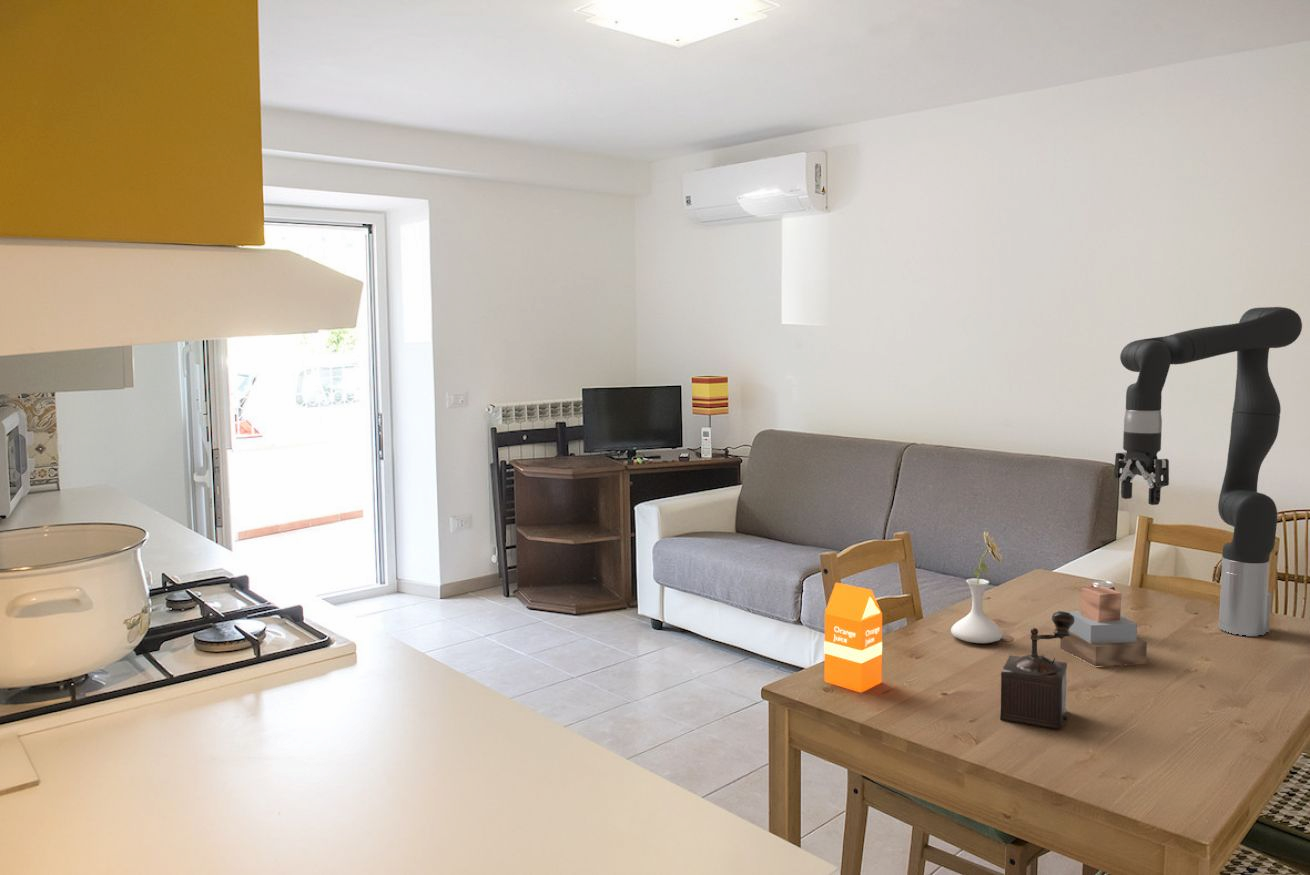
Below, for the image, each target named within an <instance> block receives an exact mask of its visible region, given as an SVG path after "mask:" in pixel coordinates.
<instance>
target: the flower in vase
mask: <svg viewBox="0 0 1310 875" xmlns="http://www.w3.org/2000/svg"><path fill="white" fill-rule="evenodd" d="M983 539H984V542H985V545H986V547H987V548H986V549H985V552H984V553H983V555H982V557H981V559H980V562H979V566H978V568H976V569H975V570H974V571H973V572H972V575H976V576H977V578H968V579H966V583H967V585H968V587H969V589H970V593H971V600H972V601H971V604H972V605H971V610H970V612H969V613H968V614H967V615H966V616H964V617H963V618H960V620H958V621H957V622H955V623H954V624H953V625H952V626H951V629H950V632H951V634H952V636H954V637H955V638H957V639H959V640H961V641H964V642H968V643H975V644H989V643H994V642H997V641H998V642H999V641H1000V640H1001V639H1002V638H1003V636H1004V633H1003V631H1002V629H1001V628H1000V627H999V626H998V625H997V624H996V623H995V622H994V621H992V620H991V619H990V618H989V617H988V616H987V615H986V614H985V613H984V610H983V600H984V599H983V598H984V593H985V590H986V588H987V587H988V585H989V584H990V581H989V580H987V579H984V578H980V575H981V574H983V573H984V574H987V573H988V570H989V568H988V566H987V564H986V562H983V560H984V558H985V556H986V555H987V553H988V552H989V553H990V555H991V556H992V558H993V559H994V561H995V562H997V563H998V564H1002V563H1003V561H1002V560H1003V556H1002V555H1001V554H1000V551H1001V550H1000V549H1001V548H1000V547H998V546H997V544H996V542H995V538H994V537H991V536H990V532H989V531H984V532H983Z"/></svg>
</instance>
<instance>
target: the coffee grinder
mask: <svg viewBox="0 0 1310 875" xmlns="http://www.w3.org/2000/svg"><path fill="white" fill-rule="evenodd" d="M1068 612H1069V611H1062V610H1059V611H1055V612H1053V614H1052V616H1051V621H1052V622H1053V624H1054V626H1055V629H1054V632H1053V634H1038V633H1039V630H1038V628H1036V627H1031V629H1030V640H1031V653H1030V654H1026V655H1023V656H1019V655H1008V658H1007V660H1006V662H1005V663H1004V665H1003V667H1002V669H1001V671H1000V672H1001V673H1000V681H1001V682H1000V716H999V719H1000V721H1004V722H1007V723H1011V724H1012V723H1013V724H1018V725H1025V726H1029V727H1030V726H1031V727H1035V728H1040V729H1047V730H1052V731H1061V730H1062V728H1063V726H1064V724H1065V722H1066V721H1067V720H1068V719H1069V713H1068V712H1067V707H1066V705H1067V700H1066V699H1067V670H1068V669H1067V668H1068V667H1067V666H1068V664H1067V662H1065V661H1058V660H1056V657H1054V659H1050V658H1048V657H1046V656H1045V655H1043V654H1038V641H1040V640H1053V639H1057V638H1058V639H1059V640H1061V639H1062V638H1064V637H1069V636H1070V634H1069V628H1070V627H1071V626H1072V625H1073V624H1074V616H1072V615H1071V614H1070V613H1068Z"/></svg>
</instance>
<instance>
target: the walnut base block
mask: <svg viewBox="0 0 1310 875" xmlns="http://www.w3.org/2000/svg"><path fill="white" fill-rule="evenodd" d="M1069 634H1070V636H1069V637H1064V638H1062V639H1060V646H1059V647H1060V649H1059V650H1061V649H1062V650H1061V651H1063V650H1064V651H1063V652H1065V651H1066V652H1068V653H1070V654H1073V655H1074V656H1077V657H1079V658H1081V659H1082V660H1085V661H1086V662H1088V663H1090V664H1092V665H1094V666H1110V667H1113V666H1112V665H1121V666H1128V665H1127V664H1133V665H1141V663H1144V664H1147V652H1148V651H1147V648H1148V642H1147V641H1145V640H1143V639H1140V638H1139V637H1137V642H1131V643H1099V644H1090V643H1088V642H1087V641H1085V640H1084V639H1082V638H1080V637H1079V636H1077V635H1076V634H1074V633H1073V632H1071V631H1069ZM1066 652H1065V653H1066ZM1068 653H1067V654H1068ZM1070 654H1069V655H1070ZM1074 656H1073V657H1074ZM1082 660H1081V661H1082ZM1125 664H1126V665H1125Z"/></svg>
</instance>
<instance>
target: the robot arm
mask: <svg viewBox="0 0 1310 875" xmlns="http://www.w3.org/2000/svg"><path fill="white" fill-rule="evenodd" d="M1302 330H1303V323H1302V319H1301V316H1300V315H1299V314H1298V313H1297V311H1295V310H1294V309H1291V308H1288V307H1283V306H1270V307H1269V306H1268V307H1267V306H1266V307H1262V306H1261V307H1254V308H1250V309H1248V310H1245V312H1244V313H1243V314H1242V316H1241V317H1240V319H1239V322H1237V323H1232V324H1231V323H1230V324H1223V325H1212V326H1205V327H1199V328H1195V329H1194V328H1193V329H1188V330H1184V331H1179V332H1177V333H1174V334H1173V333H1172V334H1169V335H1165V336H1157V337H1150V338H1143V339H1138V340H1134V341H1130V342H1129V343H1128V344H1126V345H1125V346H1124V347H1123V348H1122V350H1121V352H1120V355H1119V359H1120V362H1121V365H1122V366H1123V367H1124V368H1125V369H1127V370H1128V371H1131V372H1134V373H1138V376H1137V380H1136V382H1135V383H1132V384H1130V385H1128V387H1127V388H1126V394H1125V412H1124V418H1123V438H1122V449H1123V450H1124V452H1116V453H1115V460H1114V462H1115V463H1114V472H1113V473H1114V475H1113V476H1114V478H1115V479H1119V482H1120V485H1121V486H1120V495H1121V499H1124V500H1130V499H1132V498H1133V482H1132V481H1133V479H1134V478H1135V477H1136V476H1137V475H1138V476H1142V478H1143V480H1144V481H1146V483H1147V485H1148V486H1149V488H1148V504H1149V505H1152V506H1157V505H1159V504H1160V502H1161V490H1162V488H1164V487H1168V486H1169V485H1170V465H1169V464H1170V462H1169V461H1170V460H1169V459H1168V458H1158V453H1159V452H1160V451H1161V450H1162V429H1163V428H1162V427H1163V425H1162V424H1163V418H1162V391H1163V389H1164V386H1165V383H1166V380H1167V377H1168V374H1169V370H1170V367H1171V365H1185V364H1189V363H1192V362H1196V361H1197V362H1198V361H1201V360H1205V359H1208V358H1209V359H1210V358H1214V357H1217V356H1221V355H1226V354H1230V353H1235V352H1236V355H1237V356H1236V377H1235V378H1236V379H1235V389H1234V390H1235V391H1234V400H1233V407H1232V416H1231V423H1230V436H1229V437H1230V438H1229V445H1228V452H1227V461H1226V466H1225V467H1226V468H1225V472H1224V477H1223V481H1222V485H1221V489H1220V493H1219V500H1218V505H1217V508H1218V510H1217V512H1218V513H1219V514H1218V515H1219V517H1220V519H1221V520H1222V521H1223V522H1224V523H1226V524H1227V525H1229V526H1231V527H1233V536H1232V540H1231V542H1228V543H1224V545H1223V547H1222V555H1221V556H1222V557H1221V574H1220V575H1221V577H1220V578H1221V579H1220V580H1221V581H1220V592H1219V593H1220V594H1219V597H1220V598H1219V613H1218V614H1219V616H1218V629H1219V630H1220V631H1222V630H1223V631H1222V632H1225V631H1226V632H1225V633H1228V632H1229V633H1228V634H1231V633H1232V635H1236V634H1239V635H1238V636H1242V635H1246V636H1245V637H1259V636H1258V635H1262V636H1264V634H1265V635H1266V634H1267V633H1266V632H1269V633H1270V622H1271V620H1270V619H1271V603H1272V602H1271V601H1272V599H1271V598H1272V593H1271V592H1269V571H1270V555H1271V553H1272V552H1273V550H1274V548H1275V544H1276V542H1275V541H1276V535H1277V526H1278V525H1277V524H1278V509H1277V505H1276V503H1275V501H1274V500H1273V499H1272V498H1271V497H1270V496H1269V495H1266V494H1265V493H1261V492H1259V491H1258V482H1259V474H1260V471H1261V466H1262V464H1263V462H1264V460H1265V458H1266V457H1267V455H1268V454H1269V452H1270V450H1271V449H1272V448H1273V446H1274V443H1275V441H1276V440H1277V436H1278V433H1279V430H1280V429H1279V427H1280V420H1281V409H1282V408H1281V402H1280V398H1279V395H1278V393H1277V390H1276V389H1275V386H1274V385H1273V382H1272V378H1271V376H1270V374H1269V355H1270V354H1269V353H1270V349H1278V348H1279V349H1280V348H1284V347H1287V346H1290V345H1292V344H1293V343H1295V341H1296V340H1297V339H1298V338H1299V337H1300V335H1301V333H1302Z"/></svg>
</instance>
